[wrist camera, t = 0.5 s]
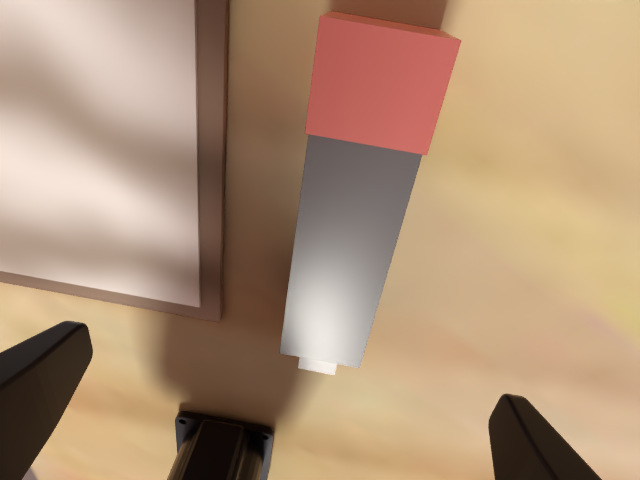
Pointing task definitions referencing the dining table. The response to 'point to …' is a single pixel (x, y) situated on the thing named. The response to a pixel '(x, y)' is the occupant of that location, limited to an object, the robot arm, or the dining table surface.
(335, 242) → the marker
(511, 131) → the dining table surface
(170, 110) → the picture frame
